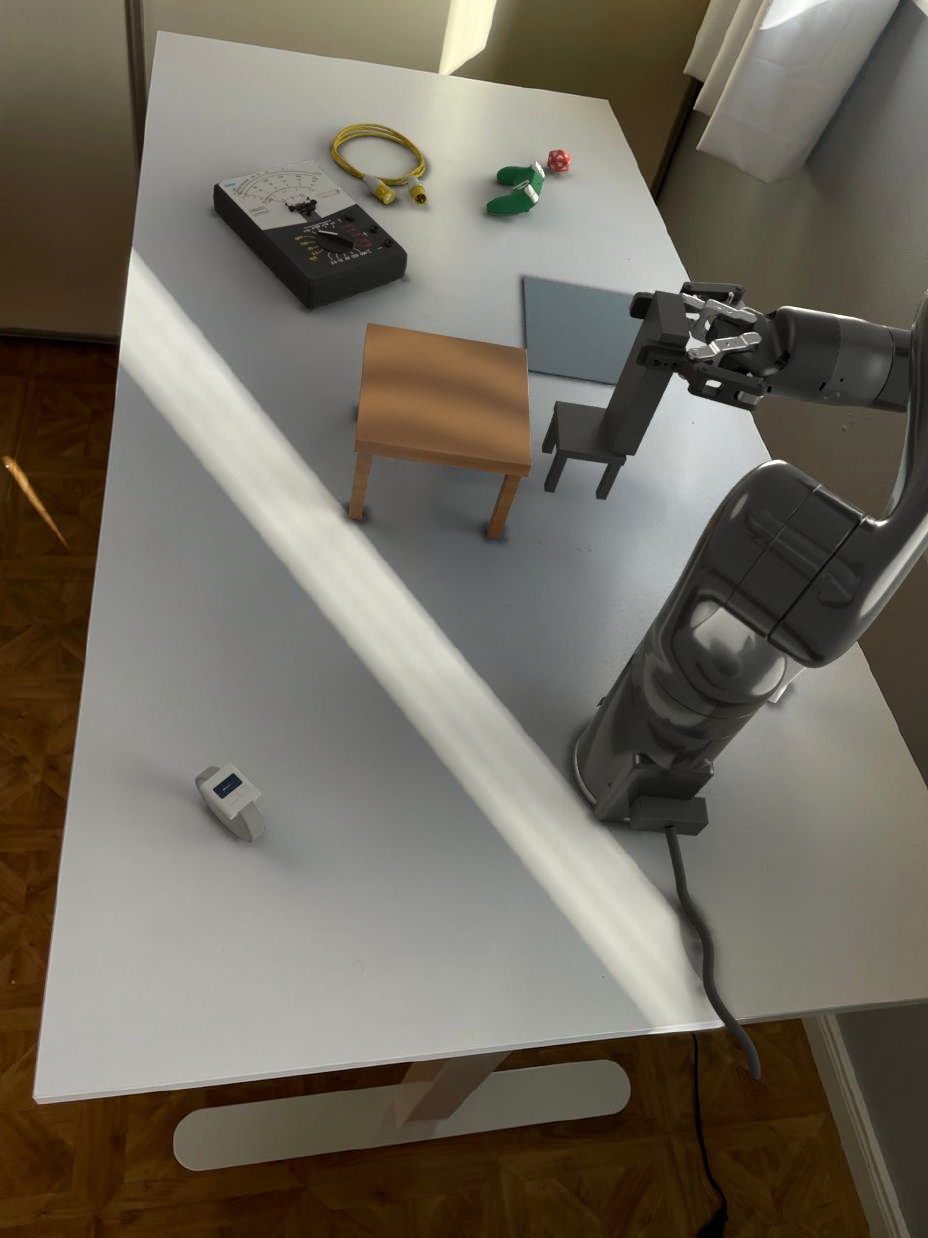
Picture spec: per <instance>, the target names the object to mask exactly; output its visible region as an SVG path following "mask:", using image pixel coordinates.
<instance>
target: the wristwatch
mask: <svg viewBox="0 0 928 1238" xmlns="http://www.w3.org/2000/svg"><path fill="white" fill-rule="evenodd" d="M194 784H195V786H196V789H197V791H198V792H199V794H200V796H201V797H202V799H203V801H204V803H205V804H206V805H207V806H208V808H209V810H211V812H212V813H213V814H214V815H215V816H216V818H217V819H218V820H219V821H220V822H221V823H222V824H223V825H224V826H225V827H226V828H227V829H228V830H230V831H231V833H233V834H234V835H236V836H237V837H238V838H240V839H241V840H243V841H245V842H247V843H253V842H254V841H255V840H256V839H258V838H259V837H260V836H261V835H262V834H264V833H265V831H266V823H265V820H264V818H263V815H262V813H261V811H260V810H259V808H258V806H257V805H256V803H255V801H256V800H257V799H259V798H260V796H261V795H262V792H261V791H260V790H259V789H258V788H257V787H256V786H255V785H254V784H253V783H252V782H251V781H249V779H248V778H247V777H246V776H245V775H244V774H243V773H242V772H240V770H239V769H238V768H237V767H236V766H234V764H233V763H232V762H229V763H227V764H226V765H224V766H223V767H222V768H220V767H218V766H214V765H210V766H208V767H207V768H205V769H204V770H203V771H202V772H200V773H199V774H198V775H196V777H195V778H194Z"/></svg>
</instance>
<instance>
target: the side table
mask: <svg viewBox="0 0 928 1238" xmlns="http://www.w3.org/2000/svg"><path fill="white" fill-rule="evenodd" d="M362 357H363V358H362V366H361V367H362V368H361V377H360V378H361V379H360V388H359V389H360V390H359V397H358V409H357V418H356V429H355V438H354V449H353V452H354V453H356V454H357V456H356V464H355V469H354V476H353V480H352V481H353V482H352V488H351V494H350V495H351V496H350V501H349V507H348V515H347V517H348V519H350V520H351V519H352V520H359V521H360V520H362V518H363V511H364V506H365V500H366V495H367V489H368V484H369V478H370V472H371V467H372V461H373V456H377V457H383V458H384V457H385V458H390V459H398V460H404V461H405V460H406V461H413V462H420V463H425V464H431V465H433V464H434V465H439V466H445V467H446V466H447V467H454V468H459V469H467V470H473V471H480V472H486V473H487V472H488V473H494V474H501V475H504V477H503V478H502V479H503V480H502V483H501V485H500V488H499V491H498V493H497V494H498V495H497V498H496V500H495V503H494V505H493V506H494V507H493V510H492V512H491V515H490V519H489V521H488V524H487V528H486V536H487V538H490V539H491V538H492V539H500V538H501V536H502V533H503V530H504V528H505V525H506V522H507V519H508V516H509V515H510V514H509V513H510V511H511V508H512V506H513V502H514V499H515V497H516V494H517V492H518V488H519V486H520V483H521V480H522V478H528V477H529V475H530V473H531V470H532V467H533V463H532V461H533V460H532V442H531V441H532V440H531V439H532V438H531V416H530V413H531V411H530V392H529V391H530V390H529V387H530V386H529V371H528V364H527V348H522V347H517V346H511V345H505V344H499V343H493V342H486V341H481V340H474V339H470V338H469V339H468V338H463V337H458V336H451V335H445V334H439V333H432V332H428V331H421V330H414V329H409V328H403V327H398V326H389V325H384V324H379V323H371V322H367V324H366V331H365V337H364V348H363V356H362Z"/></svg>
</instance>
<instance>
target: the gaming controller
mask: <svg viewBox="0 0 928 1238" xmlns="http://www.w3.org/2000/svg"><path fill="white" fill-rule="evenodd" d="M496 180H497V182H498V183H500V184H502V185H504V186H508V187H512V190H511V193H509V194H504V195H499V196H497V197H494V198H492V199H491V200H489V201H487V202H486V205H485V207H486V213H487V214H489V215H494V216H514V215H520V214H527V213H529V212H530V210H531V209H533V208H534V207H535V206H536V205H537V204H538V202H539V201H540V200H539V199H540V198H539V197H540V195H541V193H542V189H543V185H544V182H545V172H544V169H543V168H542V166H541V165H540V164H539V163H538V161H534V163H533V164H531V165H529V166H517V165H509V166H504V167H503V168H502V167H501V168H500V169H499V170H498V171H497V173H496Z"/></svg>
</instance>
